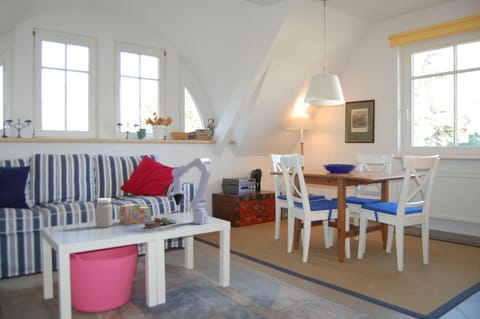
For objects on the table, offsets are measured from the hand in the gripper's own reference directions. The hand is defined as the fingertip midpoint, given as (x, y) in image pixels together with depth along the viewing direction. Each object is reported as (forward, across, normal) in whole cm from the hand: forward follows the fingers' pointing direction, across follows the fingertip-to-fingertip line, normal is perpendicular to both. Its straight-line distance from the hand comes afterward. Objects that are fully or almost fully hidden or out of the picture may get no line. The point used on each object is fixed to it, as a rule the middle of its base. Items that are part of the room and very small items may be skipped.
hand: (177, 204), depth 274 cm
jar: (+11, +45, -22) cm, 51 cm away
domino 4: (+10, +12, +6) cm, 16 cm away
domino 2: (+10, +26, +5) cm, 28 cm away
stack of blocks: (+11, +22, -18) cm, 31 cm away
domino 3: (+10, +17, +6) cm, 20 cm away
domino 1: (+8, +24, +5) cm, 26 cm away
